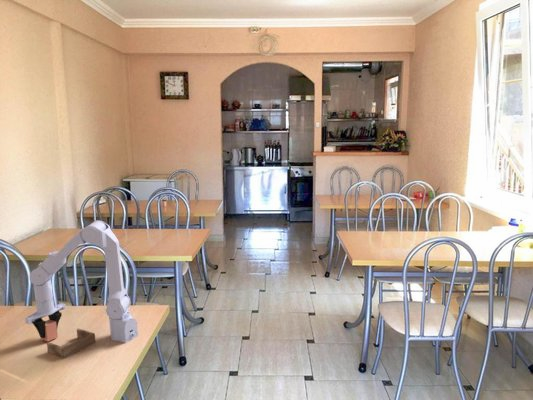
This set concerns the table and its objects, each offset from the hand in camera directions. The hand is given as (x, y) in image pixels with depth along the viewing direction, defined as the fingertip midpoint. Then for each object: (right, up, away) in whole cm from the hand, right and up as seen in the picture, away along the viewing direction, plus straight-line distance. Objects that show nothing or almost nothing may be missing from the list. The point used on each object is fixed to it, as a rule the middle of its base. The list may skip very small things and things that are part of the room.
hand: (48, 334), depth 164 cm
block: (0, -1, 0) cm, 1 cm away
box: (+11, -3, -6) cm, 13 cm away
